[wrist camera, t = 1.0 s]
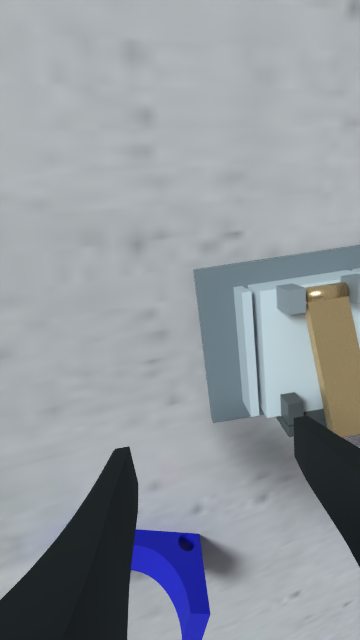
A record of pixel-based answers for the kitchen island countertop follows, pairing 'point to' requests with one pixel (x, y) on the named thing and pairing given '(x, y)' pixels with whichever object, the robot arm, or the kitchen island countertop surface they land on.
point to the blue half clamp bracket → (176, 574)
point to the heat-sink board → (225, 321)
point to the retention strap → (335, 355)
